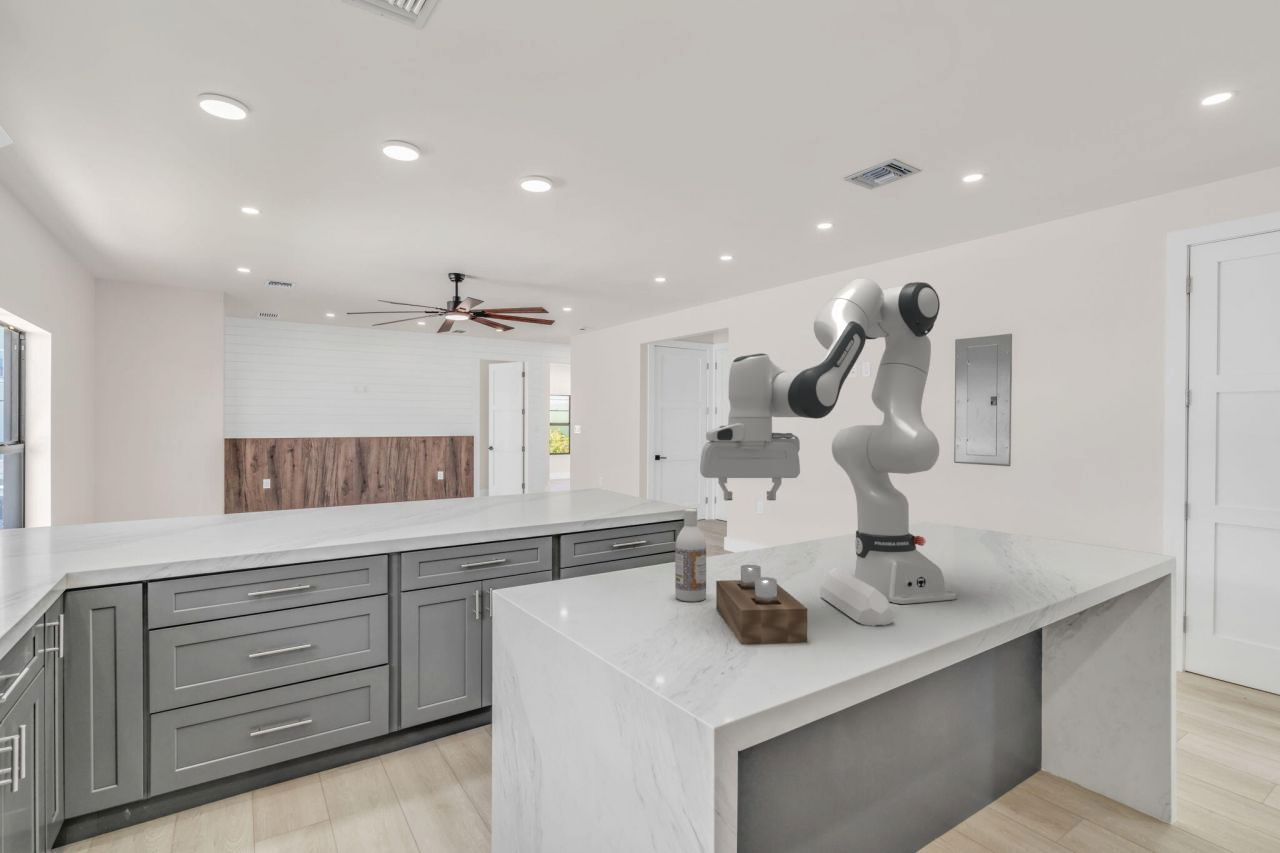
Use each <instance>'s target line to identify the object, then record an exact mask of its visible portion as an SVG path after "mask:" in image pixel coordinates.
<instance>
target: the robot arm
mask: <svg viewBox="0 0 1280 853" xmlns="http://www.w3.org/2000/svg"><path fill="white" fill-rule="evenodd" d="M940 303H941V302H940V296H939V295H938V293H937V291H936V289H935V288H934V287H933V286H932V284H931V285H930V284H929V283H927V282H919V281H917V282H916V281H915V282H908V283H906V284H904V285H898V286H894V287H889V288H885V289H883V290H882V288H881V286H880V285H879V284H878V283H876V282H875V281H873V280H872V279H869V278H863V277H861V278H856V279H853V280H852V281H849V282H848V283H847V284H845V285H844V286H843V287H842V288H840V290H838V291H837V292H836V293H834V295H833V296H831V298H830V299H829V300H828V301H827V302H826V304H824V305H823V307H822V308H821V309H820V311H819V312H818V314H817V316H816V317H815V319H814V322H813V330H814V331H813V332H814V335H815V338H816V340H817V341H818V342H819V344H820V345H821V346H822V347H823V348H824V349H826V352H825V354H824V356H823V357H822V359H821V360H820V362H819V363H817V364H816V365H814V366H811V367H808V368H805V369H797V370H790V371H786V370H785V369H782V368H780V367H779V366H777V365H776V364H775V363H774V362H773V361H772V360H771V359H770V357H769V354H766V353H762V352H761V353H754V354H749V355H741V356H738V357H736V358H735V359H733V361H732V363H731V365H730V370H729V375H728V377H729V378H728V401H729V404H730V405H729V406H730V407H729V408H730V410H729V413H728V416H727V417H728V419H727V420H728V423H727V424H726V425H721V426H718V427H715V428H712V429H710V430H707V431H706V433H705V438H706V441H707V442H706V443H704V445H703V447H702V449H701V450H702V451H701V454H700V462H699V463H700V464H699V465H700V466H699V472H700V475H701V476H702V477H703V478H706V479H718V481H717V483H718V484H719V486H720V488H721V490H722V491H723V500H724V501H733V491H731V490H728V488H727V486H726V484H728V479H771V483H773V485H772V487H771V489H770V490H769V491H768V490H767V491H766V500H767V501H776V500H777V492H778V490H779V489H780V487H781V485H782V480H783V479H796V478H798V477H799V475H800V473H801V466H800V464H801V463H800V456H799V452H800V448H801V447H800V445H801V443H800V439H799V437H798V436H797V435H795V434H793V433H792V432H791V433H790V432H786V433H782V432H773V431H772V430H773V417H774V418H808V419H817V420H818V419H822V418H825V417H826V416H828V415H829V414H830V413H831V412H832V411H833V409H834V408H835V407H836V404H837V402H838V399H839V397H840V392H841V389H842V387H843V385H844V383H845V381H846V379H847V378H848V376H849V374H850V373H851V371H852V369H853V367H854V366H855V364H856V363H857V360H858V359H859V357H860V355H861V354H862V351H863V350H864V348H865V344H866V340H876V339H878V338H884V342H885V349H884V351H883V353H882V355H881V356H882V357H881V359H880V362H879V365H878V370H877V373H876V377H875V379H874V384H873V387H872V391H871V401H872V403H873V405H874V406H875V407H876V408H877V409H878V410H879V411H880V412H882V413H884V414H883V422H882V423H881V424H880V425H879V424H878V425H877V424H876V425H874V424H873V425H871V424H870V425H866V424H864V425H862V424H861V425H853V426H849V427H846V428H843V429H840V430H839V431H837V433H835V435H834V438H832V443H831V453H832V457H833V459H834V462H836V463H837V465H839V466H840V467H841V468H842V470H844V472H845V473H846V474H847V476H848V478H849V480H850V482H851V485H852V487H853V490H854V494H855V500H856V508H857V509H856V510H857V511H856V512H857V530H856V531H855V541H854V542H855V546H854V547H855V555H856V563H855V569H854V575H853V577H855V578H857V579H859V580H861V581H862V582H864V583H866V584H868V585H870V586H872V587H874V588H875V589H877V590H878V591H879V592H880V593H882V594H883V595H884V596H885V597H886V598H887V600H888V602H889V603H890V602H891V603H894V604H901V605H907V604H917V603H918V604H919V603H928V602H941V601H951V600H952V601H953V600H956V599H957V595H956V592H955V591H954V590H952V589H951V588H948V587H946V585H945V579H944V578H945V577H944V575H943V572H942V570H941V568H940V567H939V566H938V565H937V564H936V563H934V562H933V561H932V560H931V559H929V558H928V557H926V556H925V555H924V554H923V553H922V552H920V551H919V550H917V546H916V545H918V546H920V547H922V546H925V544H926V538H925V537H923V536H920V535H914V534H912V533H910V531H909V528H910V527H909V522H910V520H909V518H910V517H909V513H910V512H909V502H908V499H907V497H906V496H905V495H904V494H903V493H902V492H901V491H899V489H897V488H896V487H895V486H894V485H893V483H892V481H891V479H890V476H889V473H891V474H901V475H902V474H903V475H904V474H905V475H909V474H915V473H922V472H928V471H930V470H931V469H932V468H933V467H934V465H936V463H937V461H938V458H939V456H940V444H939V440H938V439H937V438H938V437H937V436H936V434H935V433H934V432H933V431H932V430H931V429H930V428H928V426H927V425H926V423H925V422H924V419H923V415H922V402H923V398H924V393H925V388H926V384H927V380H928V374H929V371H930V364H931V355H932V354H931V353H932V351H931V350H932V344H931V339H930V338H929V336H928V334H930V332H931V331H932V329H934V325H935V322H936V321H937V319H938V316H939V312H940V311H939V310H940V307H941V306H940V305H941V304H940Z"/></svg>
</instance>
